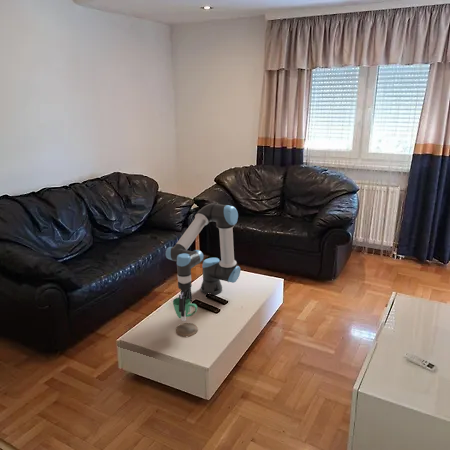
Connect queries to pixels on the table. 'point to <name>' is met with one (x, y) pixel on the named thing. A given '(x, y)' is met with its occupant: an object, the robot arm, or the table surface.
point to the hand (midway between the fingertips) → (186, 316)
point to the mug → (176, 307)
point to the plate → (186, 329)
